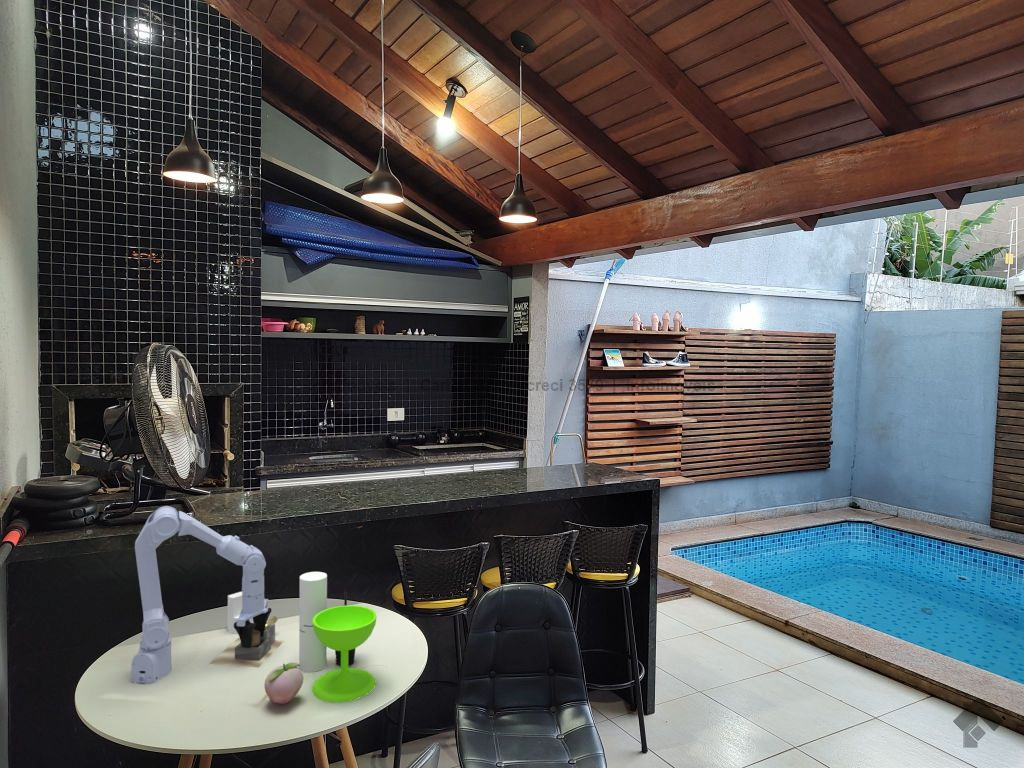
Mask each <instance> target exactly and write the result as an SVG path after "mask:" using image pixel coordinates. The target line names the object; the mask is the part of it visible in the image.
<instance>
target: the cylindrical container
mask: <svg viewBox="0 0 1024 768" xmlns="http://www.w3.org/2000/svg"><path fill="white" fill-rule="evenodd" d="M326 609H328V574H327V573H326V572H322V571H310V572H309V571H308V572H305V573H303V574H301V575H299V608H298V611H299V617H298V618H299V619H298V620H299V629H298V630H299V632H298V633H299V635H298V636H299V637H298V639H299V640H298V641H299V644H298V645H299V646H298V647H299V648H298V649H299V653H298V655H299V656H298V661H299V663H298V664H300V666H298V668H299V669H300V670H301V672H304V673H315V672H319V671H322V670H324V669H325V668H326V667H327V655H328V654H327V650H328V649H327V648H328V647H326V646H325V645H323V644H322V643H321V641H320V640H319V639H318V638H317V636H316V634H315V632H314V628H313V618H314V616H315V615H316V614H318V613H319V612H321V611H323V610H326Z"/></svg>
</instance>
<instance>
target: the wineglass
mask: <svg viewBox="0 0 1024 768" xmlns="http://www.w3.org/2000/svg"><path fill="white" fill-rule="evenodd" d="M377 618H378V617H377V612H376V611H374V609H372V608H369V607H368V606H367V607H366V606H362V605H354V604H353V605H349V604H347V605H346V606H344V605H339V606H332V607H329V608H327V609H326V610H323V611H321V612H319V613H318V614H316V615H315V616H314V618H313V628H314V632H315V634H316V636H317V638H318V639H319V640H320V641H321V643H322V644H323V645H325V646H326V647H327V648H328V649H330V650H333V651H335V650H336V651H341V666H340V668H337V669H334V670H331V671H330V670H329V671H328V672H325V673H324V674H322V675H321V676H318V678H317V679H316V680H315V681H314V683H313V685H312V688H311V690H312V691H311V692H312V694H313V695H314V696H315V697H316V698H317V699H319V700H322V701H324V702H329V703H346V702H345V701H347V702H351V701H350V700H352V701H354V700H355V699H356V700H358V699H357V698H359V697H361V698H363V697H362V696H364V695H365V694H367V693H369V692H370V691H371V690H372V689H373V688H374V686H375V687H376V685H375V684H377V683H376V682H375V681H376V678H375V676H374V675H373V674H372V673H370V672H369V671H367V670H364V669H361V668H356V667H355V668H354V667H349V666H348V650H352V649H355V650H356V648H358V647H359V646H361V645H362V644H364V643H365V642H367V640H368V639H369V638H370V637H371V635H372V633H373V631H374V628H375V626H376V623H377V622H376V621H377ZM374 689H375V688H374ZM374 689H373V690H374ZM373 690H372V691H373ZM372 691H371V692H372ZM371 692H370V693H371ZM370 693H369V694H370ZM367 695H368V694H367ZM364 697H365V696H364ZM359 699H360V698H359Z"/></svg>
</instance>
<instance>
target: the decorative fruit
mask: <svg viewBox="0 0 1024 768" xmlns="http://www.w3.org/2000/svg"><path fill="white" fill-rule="evenodd" d="M299 666H300V664H299V663H298V662H289V663H286V664H285V663H283V664H282V665H279V666H276V667H274V668H273V669H272V670H271V671H270V672H269V673H268V674H267V676H266V678H265V680H264V685H263V686H264V691H265V693H266V695H267V697H268V699H269V700H270V701H272V702H273V703H275V704H281V705H283V704H287V703H288V702H289V701H291V700H292V699H294V698H295V697H296V696H297V695H298V693H299V692H300V690H301V688H302V686H303V684H304V679H305V677H304V674H303V671H301V670H300V669H299Z"/></svg>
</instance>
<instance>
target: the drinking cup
mask: <svg viewBox="0 0 1024 768" xmlns="http://www.w3.org/2000/svg"><path fill="white" fill-rule="evenodd" d="M343 592H344V593H343V594H344V597H343V598H344V600H343V601H344V605H343V606H346V605H348V591H347V590H345V591H343ZM334 653H335V662H336V663H335V664H336V665H337V666H338V667H341V651H336V650H334ZM355 655H356V648H355V649H352V650H348V667H349V666H351V665H353V664H354V663H355Z"/></svg>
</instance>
